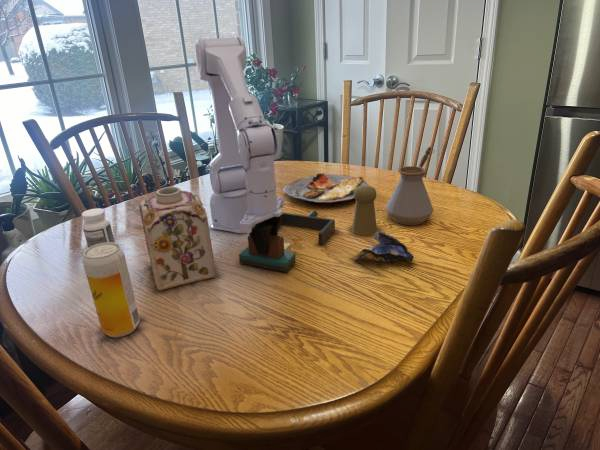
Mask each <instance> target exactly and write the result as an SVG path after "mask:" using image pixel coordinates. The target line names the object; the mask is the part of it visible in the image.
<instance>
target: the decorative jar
mask: <svg viewBox="0 0 600 450" xmlns="http://www.w3.org/2000/svg"><path fill="white" fill-rule="evenodd" d="M155 193H156V194H154V195H151V196H150V197H147V198H145V199H144V200H142V201H141V202H139V206H138V207H139V208H138V209H139V213H140V219H141V224H142V229H143V233H144V238H145V245H146V248H147V253H148V257H149V263H150V266H151V271H152V274H153V278H154V281H155V286H156V289H157V290H158V291H164V290H168V289H172V288H176V287H179V286H184V285H188V284H192V283H197V282H200V281H204V280H208V279H213V278H216V277H217V276H216V266H215V265H216V264H215V258H214V250H213V245H212V239H211V232H210V226H209V220H208V216H207V212H206V208H205V207H204V206H203V205H204V204H203V202H202V200H201V197H200V195H199V194H198V193H196V192H192V191H187V190H182V189H181V188H180V187H178V186H165V187H162V188H159V189H157V190H156V192H155Z"/></svg>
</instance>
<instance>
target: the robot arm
mask: <svg viewBox="0 0 600 450" xmlns="http://www.w3.org/2000/svg"><path fill="white" fill-rule="evenodd" d="M194 55H195V61H196V68H197V74H198V76H199V79H200V80H202V81H204V82H206V83H207V85H208V89H209V91H210V99H211V105H212V112H213V113H212V114H213V119H214V126H215V133H216V141H217V146H218V154H217V155H216V156H215V157H214V158H213V159H212V160H211V161H210V163H209V181H210V185H211V190H212V194H211V196H210V199H209V209H210V214H211V215H210V216H211V221H212V223H211V226H210V228H211V229H213V230H218V231H226V232H230V233H237V234H248V236H249V235H250V237H251V238H252V240H253V242H254V245H255V247H256V250H257V252H258V254H262V255H267V254H268V250H269V236H270V234H271V235H277V236H279V235H278V234H279V230H280V227H281V225H280V224H281V222H282V220H283V218H284V216H283V208H284V207H285V198H284V197H280V196H277V186H276V185H277V184H276V172H275V171H276V169H275V156H276V155H277V154H278V149H279V140H278V135H277V132H276V129H275V127H274V125H273V124H271V123H270V121H269V120H266V119H265V116H264V114H263V111H262V108H261V106H260V103H259V101H258V98H257V97H256V96H255V95H254V94H252V93H250V92H249V88H248V85H247V81H246V76H245V73H244V70H245V68H246V64H247V56H248V55H247V47H246V43H245V41H244V40H243V39H242V37H241V36H235V37H221V38H220V37H219V38H197V40H196V41H195V43H194ZM281 208H282V209H281Z"/></svg>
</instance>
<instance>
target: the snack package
mask: <svg viewBox="0 0 600 450" xmlns="http://www.w3.org/2000/svg"><path fill="white" fill-rule="evenodd" d="M373 239H374V240H375V241H376V242H378V243H377V244H375V245H371V246H370V247H369V248H363V249H362V250H361V251H359V253H357V254H355V255H352V258H353V259H354V261H355V262H357V260H358V259H363V260H370V261H379V262H395V261H400V260H405V261H409V262H413V260H414V255H413V253H411V252H410V251H408V248H407V246H406V245H405V244H404V243H403V242H401V241H400V240H398V239H397V238H396V237H394V236H393V235H390V234H387V233H386V232H381V231H380V230H377V232H376V233H375V234H373Z"/></svg>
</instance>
